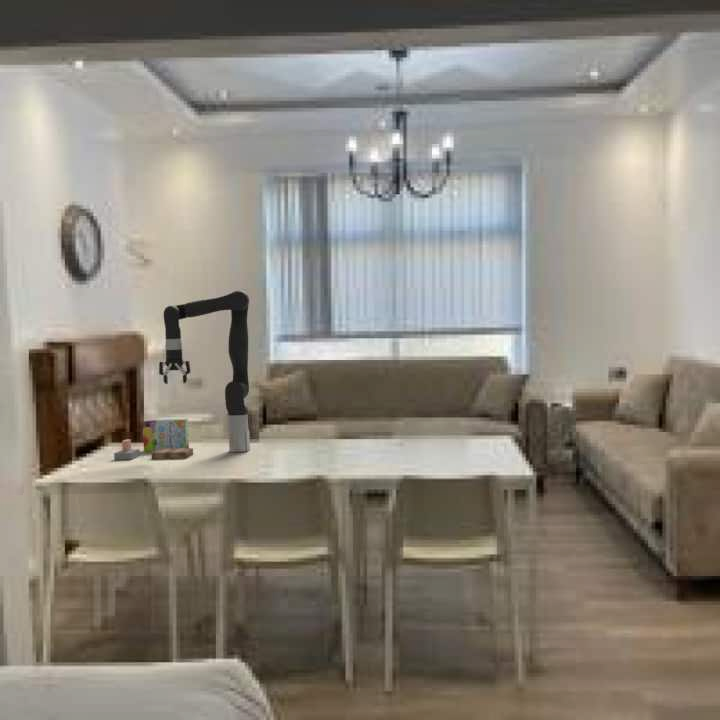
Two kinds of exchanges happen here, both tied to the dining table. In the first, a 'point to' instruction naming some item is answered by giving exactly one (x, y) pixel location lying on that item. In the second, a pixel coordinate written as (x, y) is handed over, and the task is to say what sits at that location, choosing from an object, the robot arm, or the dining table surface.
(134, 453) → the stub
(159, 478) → the dining table surface
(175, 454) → the board
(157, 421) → the snack box
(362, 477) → the dining table surface
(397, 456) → the dining table surface
